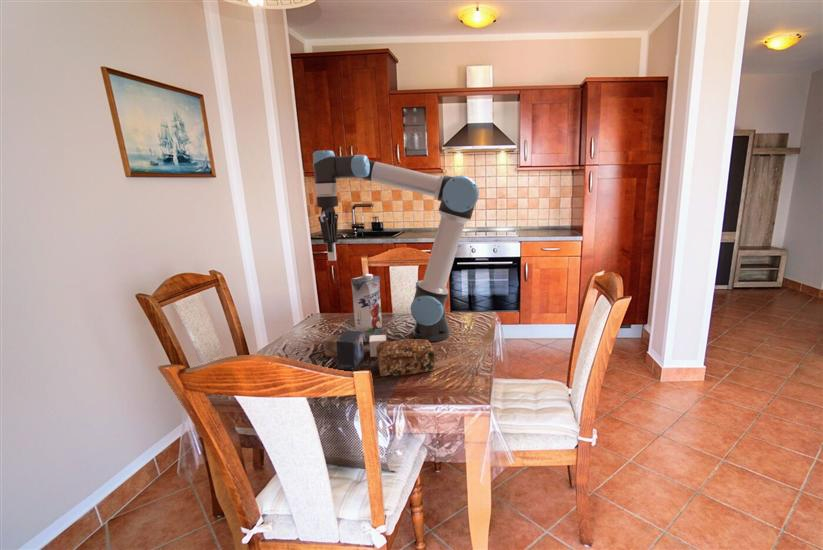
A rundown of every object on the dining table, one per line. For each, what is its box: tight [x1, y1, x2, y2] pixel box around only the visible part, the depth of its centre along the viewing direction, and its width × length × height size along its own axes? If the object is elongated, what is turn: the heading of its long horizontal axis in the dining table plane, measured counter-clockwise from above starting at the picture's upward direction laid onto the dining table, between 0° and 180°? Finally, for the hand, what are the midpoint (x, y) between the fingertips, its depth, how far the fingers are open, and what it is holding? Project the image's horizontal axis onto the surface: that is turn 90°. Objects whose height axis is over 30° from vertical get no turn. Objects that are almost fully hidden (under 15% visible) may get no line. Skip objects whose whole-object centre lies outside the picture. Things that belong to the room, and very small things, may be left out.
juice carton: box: [350, 273, 383, 344], centre depth 158 cm, size 9×10×27 cm
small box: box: [336, 330, 365, 371], centre depth 137 cm, size 11×6×10 cm, turn 169°
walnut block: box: [323, 334, 342, 358], centre depth 147 cm, size 6×6×6 cm
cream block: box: [368, 334, 387, 358], centre depth 146 cm, size 6×6×6 cm
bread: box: [376, 338, 436, 377], centre depth 132 cm, size 19×11×10 cm, turn 99°
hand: (332, 260), depth 146 cm, fingers closed
